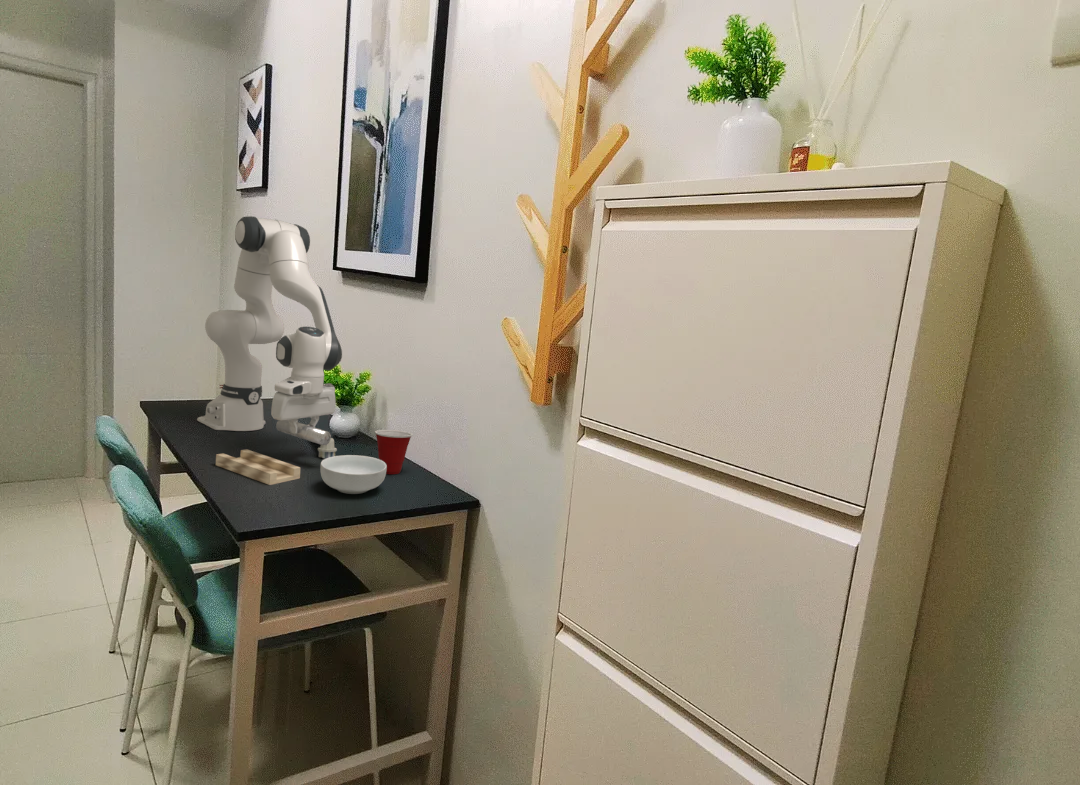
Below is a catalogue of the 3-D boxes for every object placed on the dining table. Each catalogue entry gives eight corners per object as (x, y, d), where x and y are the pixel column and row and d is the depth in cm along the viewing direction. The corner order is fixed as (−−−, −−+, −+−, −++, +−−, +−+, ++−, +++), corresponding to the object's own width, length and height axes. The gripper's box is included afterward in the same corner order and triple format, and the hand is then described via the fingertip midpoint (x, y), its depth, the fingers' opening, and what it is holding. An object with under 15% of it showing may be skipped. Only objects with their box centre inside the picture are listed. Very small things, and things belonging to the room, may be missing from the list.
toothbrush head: (324, 427, 221) (338, 436, 198) (323, 447, 221) (337, 458, 199) (307, 427, 218) (320, 436, 196) (306, 447, 218) (319, 458, 196)
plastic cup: (408, 467, 200) (412, 428, 199) (409, 477, 190) (413, 437, 188) (371, 465, 198) (375, 425, 196) (370, 475, 188) (374, 434, 186)
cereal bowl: (310, 481, 176) (312, 456, 175) (370, 477, 186) (372, 453, 185) (330, 502, 163) (333, 474, 162) (394, 497, 172) (397, 470, 171)
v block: (215, 465, 180) (216, 454, 180) (246, 459, 188) (246, 449, 188) (269, 485, 170) (270, 473, 169) (299, 478, 178) (300, 467, 177)
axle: (275, 432, 193) (276, 418, 193) (286, 430, 197) (287, 417, 196) (319, 446, 185) (320, 432, 184) (330, 444, 189) (331, 430, 188)
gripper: (327, 380, 199) (323, 425, 201) (269, 384, 181) (265, 433, 184) (342, 384, 196) (338, 430, 198) (285, 389, 178) (281, 439, 181)
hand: (303, 432), depth 191 cm, fingers closed on axle, 4 cm apart
